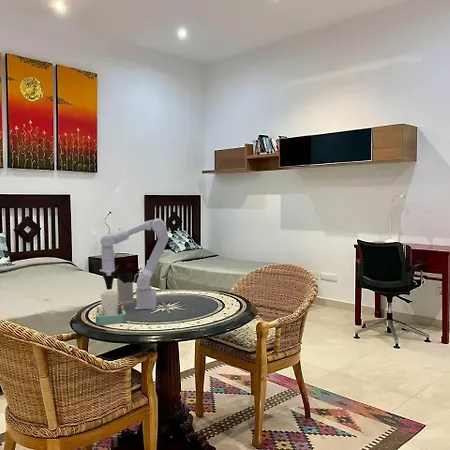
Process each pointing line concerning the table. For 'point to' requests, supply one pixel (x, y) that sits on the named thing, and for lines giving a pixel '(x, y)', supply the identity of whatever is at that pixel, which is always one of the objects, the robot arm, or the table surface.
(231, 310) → the table surface
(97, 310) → the holster cradle
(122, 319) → the tray
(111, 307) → the white cup
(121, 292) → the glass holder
